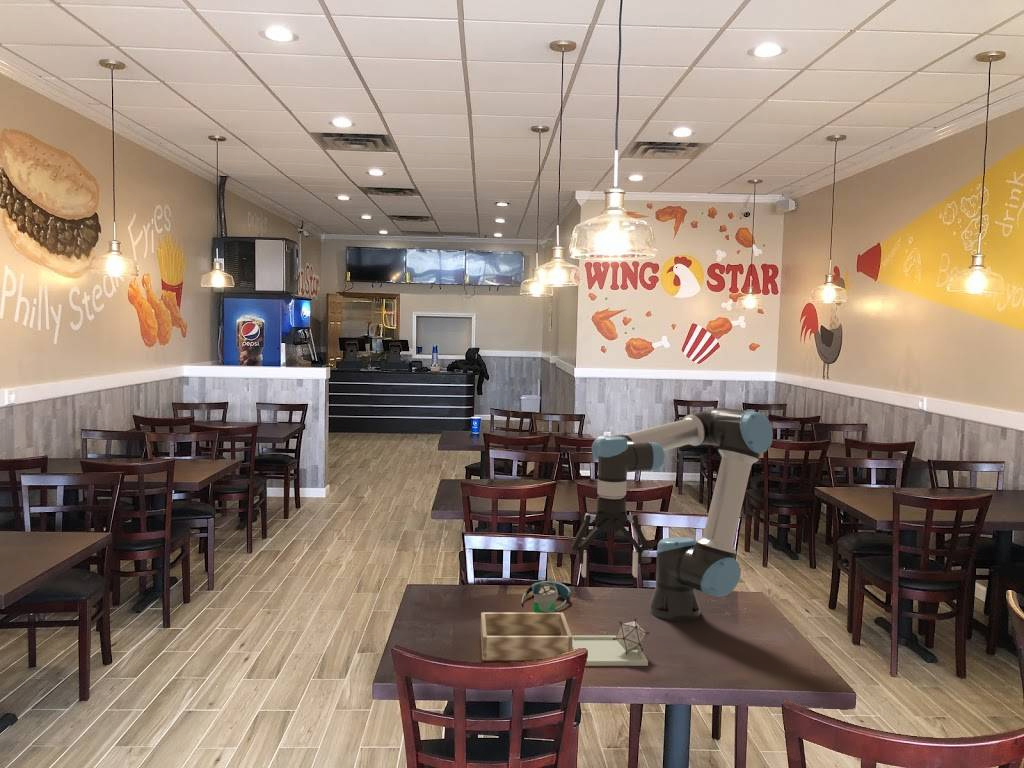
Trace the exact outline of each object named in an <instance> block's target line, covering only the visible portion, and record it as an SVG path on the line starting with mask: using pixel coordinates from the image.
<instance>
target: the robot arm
mask: <svg viewBox="0 0 1024 768" xmlns="http://www.w3.org/2000/svg"><path fill="white" fill-rule="evenodd" d="M773 437H774V433H773V426H772V424H771V422H770V420H769V419H768V418H767V416H766V415H765V414H763V413H761V412H758V411H754V410H750V409H748V410H746V409H736V408H735V409H734V408H726V407H723V408H722V407H717V408H712V409H706V410H703V411H699V412H696V413H691V414H688V415H685V416H683V418H682V419H681V420H677V421H672V422H669V423H664V424H659V425H656V426H652V427H648V428H644V429H641V430H636V431H632V432H627V433H623V434H619V435H615V436H612V435H611V436H609V435H599V436H598V437H596V438H594V441H593V442H592V444H591V453H592V456H593V458H594V459H595V460H597V461H598V462H597V488H596V489H597V494H598V496H597V497H596V513H595V514H590V513H588V512H585V513H584V517H583V521H582V523H581V526H580V527H579V529H578V531H577V533H576V535H575V536H574V539H573V541H572V542H571V548H572V550H575V551H577V561H578V564H580V565H581V576H582V578H587V550H586V549H587V548H588V547H589V546H590V545H591V543H592V542H593V541H594V540H596V538H597V537H598V536H599V534H601V533H602V532H605V533H608V532H613V533H618V532H619V531H621V532H622V533H623V535H624V537H626V539H627V540H628V541H629V543H631V544H632V546H633V547H634V549H633V550H632V564H631V565H632V570H631V571H632V572H631V575H632V576H633V578H638V572H639V571H638V570H639V569H638V565H641V564H642V557H643V552H644V551H648V550H649V549H650V546H649V543H648V542H647V539H646V537H645V535H644V533H643V531H642V529H641V527H640V525H639V518H638V515H637V514H636V513H631V514H627V512H626V511H627V510H626V509H627V508H626V507H627V498H626V497H625V496H626V495H627V483H628V482H627V481H628V479H627V478H628V473H634V472H647V471H648V472H651V471H655V470H658V469H660V468H662V466H663V465H664V462H665V451H668V450H672V449H676V448H679V447H684V446H688V445H690V446H693V447H697V446H700V445H709V446H717V447H718V449H717V451H718V453H719V455H720V457H721V460H720V465H719V467H718V468H719V469H718V473H717V477H716V481H715V486H714V490H713V494H712V499H711V502H710V506H709V510H708V514H707V518H706V523H705V527H704V531H703V534H702V535H703V536H702V537H701V538H699V539H697V540H696V538H692V537H683V536H682V537H679V536H678V537H666V538H662V539H660V540H659V542H658V543H657V551H656V570H655V571H656V572H655V579H656V580H655V588H654V592H653V593H652V596H651V600H650V601H649V606H648V607H649V609H648V610H649V613H650V614H652V615H653V616H654V617H656V618H659V619H662V620H666V621H670V622H671V621H672V622H691V621H694V620H697V619H698V618H700V616H701V607H700V604H699V600H698V596H697V593H696V590H698V591H700V592H703V594H705V595H708V596H709V595H711V596H713V597H718V598H720V597H726V596H727V595H729V594H730V593H732V592H733V591H734V589H736V587H737V586H738V584H739V582H740V579H741V575H742V573H741V572H742V569H741V566H740V563H739V562H738V561H737V560H736V556H737V551H736V549H735V547H734V542H735V537H736V533H737V529H738V525H739V520H740V516H741V512H742V507H743V503H744V499H745V495H746V491H747V487H748V483H749V478H750V474H751V470H752V466H753V464H754V463H757V462H758V461H760V460H759V459H760V455H761V454H763V453H766V452H767V451H768V450H769V449H770V447H771V446H772V443H773V439H774V438H773ZM593 521H595V522H596V523H597V524H596V525H595V526H594V527H593V529H592V530H590V532H589V534H588V535H587V536H586V537H585V538H584V539H583V537H584V536H585V534H586V532H587V530H588V528H589V526H590V524H592V523H593ZM627 521H629V523H630V524H632V527H633V528H634V531H635V533H636V535H637V537H638V539H639V541H640V544H638V542H637V541H636V540H635V539H634V537H633V536H632V535H631V533H630V532H629V531H628V530H627V529H626V527H625V526H624V525H625V524H626V522H627ZM582 540H583V541H582Z"/></svg>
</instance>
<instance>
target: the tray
mask: <svg viewBox="0 0 1024 768" xmlns="http://www.w3.org/2000/svg"><path fill="white" fill-rule="evenodd" d="M571 635H572V650H575V649H578V648H586V649H587V650H588V658H587V664H586V666H585V667H592V666H593V667H600V666H602V667H605V666H607V667H608V666H609V667H610V666H611V667H614V666H616V667H618V666H620V667H621V666H622V667H627V666H628V667H631V666H632V667H633V666H635V667H636V666H637V667H638V666H640V667H641V666H642V667H643V666H649V660H648V659H647V657H646V654H645V653H644V652H643V651H642V650H641V649H637V650H633V651H628V653H627V655H626V650H625V649H624V648H623V647H622V646H621V645H620V643H619V642H618V641H617V640H613V638H616V636H617V634H616V635H605V634H604V635H595V634H594V635H593V634H592V635H591V634H590V635H583V634H582V635H579V634H578V635H573V634H571Z"/></svg>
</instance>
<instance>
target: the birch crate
mask: <svg viewBox="0 0 1024 768" xmlns="http://www.w3.org/2000/svg"><path fill="white" fill-rule="evenodd" d="M572 635H573V634H572V633H571V630H570V627H569V624H568V622H567V619H566V617H565V614H564V612H555V613H534V612H517V611H516V612H513V611H512V612H509V611H506V612H505V611H504V612H498V611H497V612H492V611H491V612H489V611H488V612H480V644H481V646H480V647H481V660H482V661H537V660H536V659H544V658H548V657H553V656H558V655H561V654H563V653H566V652H570V651H572ZM572 652H573V651H572Z"/></svg>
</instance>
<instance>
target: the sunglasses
mask: <svg viewBox="0 0 1024 768" xmlns="http://www.w3.org/2000/svg"><path fill="white" fill-rule="evenodd" d="M541 583H546V584H550V585H553V586H555V587H556V589H557V591H558V598H563V599H564V602H562V603H561V605H559V606H558V607H555V612H556V611H558V610H560V609H561V608H563V607H564V606H566V604H568V603H569V602H571V599H572V597H571V595H572V594H571V590H570V588H569V587H568V586H567V585H565V584H563V583H561V582H560V581H555V580H554V581H553V580H543V581H540V582H539V581H538V582H535V583H533V584H531V586H530V587H528V589H527V590H526V591H525V592H524V594H522V598H521V605H522V606H521V607H523V606H524V599H525V597H527V596H528V595H530V593H531V594H532V596H534V595H536V594H537V591H538V590H539V589H540V584H541Z"/></svg>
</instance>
